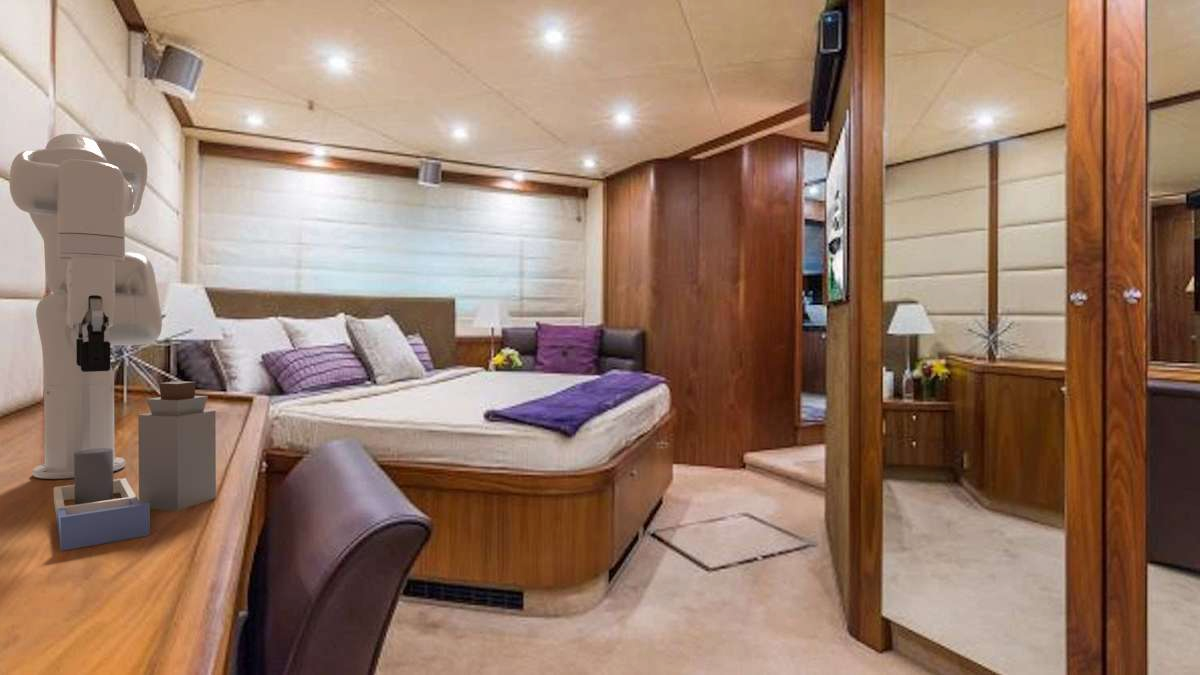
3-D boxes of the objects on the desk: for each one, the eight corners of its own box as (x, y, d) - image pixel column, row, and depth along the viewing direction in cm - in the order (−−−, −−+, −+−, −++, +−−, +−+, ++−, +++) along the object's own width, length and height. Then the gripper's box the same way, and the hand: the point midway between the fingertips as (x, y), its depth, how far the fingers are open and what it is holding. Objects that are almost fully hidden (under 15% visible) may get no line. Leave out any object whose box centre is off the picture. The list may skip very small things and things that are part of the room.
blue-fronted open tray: (53, 500, 94) (53, 474, 94) (125, 490, 100) (125, 465, 100) (61, 551, 74) (60, 517, 74) (149, 535, 80) (149, 504, 80)
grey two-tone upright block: (73, 505, 92) (73, 450, 92) (111, 499, 95) (111, 447, 95) (75, 512, 89) (74, 456, 89) (114, 506, 92) (114, 452, 91)
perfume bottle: (177, 510, 90) (177, 385, 90) (139, 507, 92) (138, 383, 91) (215, 497, 97) (215, 381, 96) (179, 494, 98) (178, 379, 98)
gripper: (55, 250, 94) (56, 364, 95) (60, 243, 81) (61, 375, 82) (118, 254, 99) (119, 362, 100) (131, 248, 87) (132, 372, 87)
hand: (93, 368), depth 91 cm, fingers open, 9 cm apart
